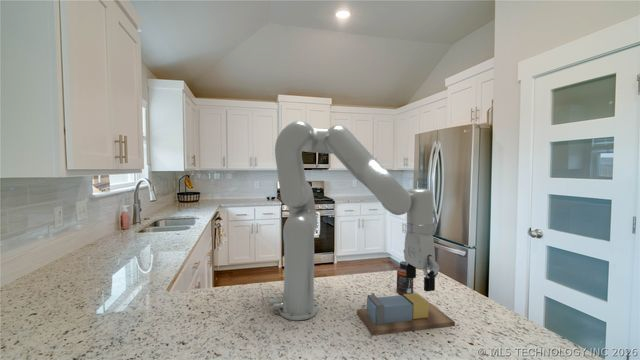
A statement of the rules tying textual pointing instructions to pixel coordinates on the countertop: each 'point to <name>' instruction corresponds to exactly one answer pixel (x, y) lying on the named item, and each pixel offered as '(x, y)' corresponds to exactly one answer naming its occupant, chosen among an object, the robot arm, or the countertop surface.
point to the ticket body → (389, 309)
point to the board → (408, 322)
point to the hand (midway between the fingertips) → (419, 284)
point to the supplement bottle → (403, 280)
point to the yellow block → (418, 305)
